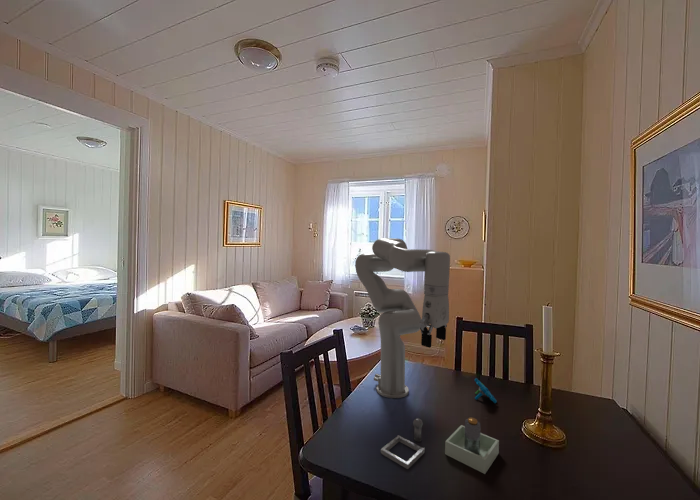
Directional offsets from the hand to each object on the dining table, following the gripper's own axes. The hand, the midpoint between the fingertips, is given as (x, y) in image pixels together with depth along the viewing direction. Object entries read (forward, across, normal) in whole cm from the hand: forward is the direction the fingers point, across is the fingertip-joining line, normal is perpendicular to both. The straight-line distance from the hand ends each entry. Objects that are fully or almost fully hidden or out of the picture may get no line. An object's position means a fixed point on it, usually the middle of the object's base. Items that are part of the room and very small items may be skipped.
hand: (433, 342), depth 98 cm
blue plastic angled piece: (+26, +27, -8) cm, 39 cm away
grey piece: (+26, -17, -2) cm, 31 cm away
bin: (+25, -7, -16) cm, 31 cm away
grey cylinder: (+25, -7, -16) cm, 30 cm away
